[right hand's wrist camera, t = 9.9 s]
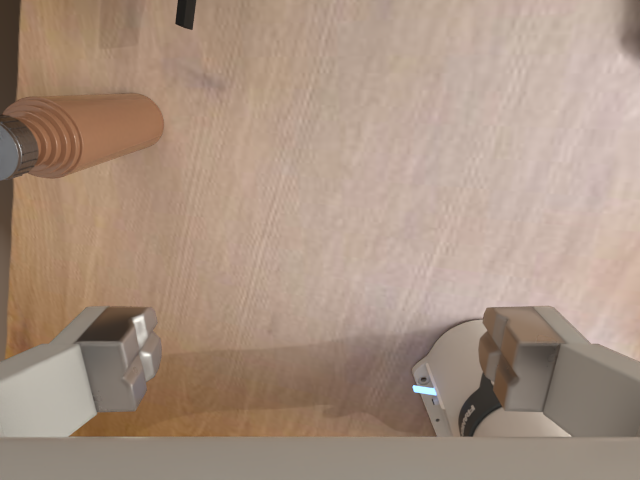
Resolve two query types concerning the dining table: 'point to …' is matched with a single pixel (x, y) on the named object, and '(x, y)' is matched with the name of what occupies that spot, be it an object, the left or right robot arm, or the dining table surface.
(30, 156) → the cap
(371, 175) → the dining table surface
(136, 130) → the bottle
